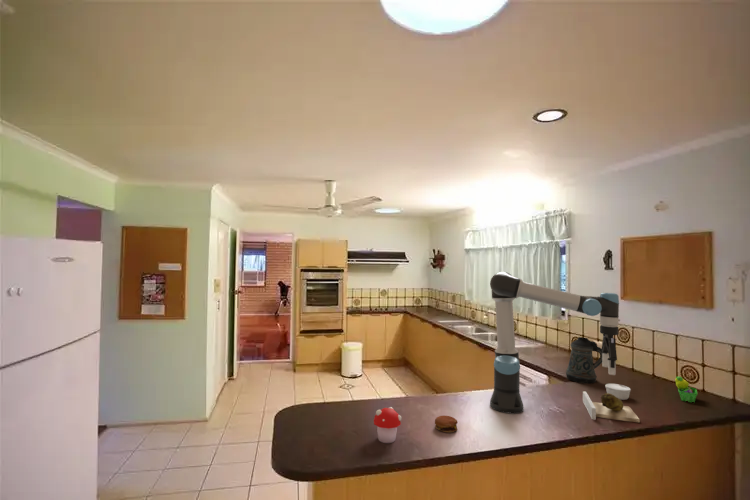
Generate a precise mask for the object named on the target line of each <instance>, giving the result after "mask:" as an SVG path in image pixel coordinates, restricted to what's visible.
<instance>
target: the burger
mask: <svg viewBox="0 0 750 500" xmlns="http://www.w3.org/2000/svg"><path fill="white" fill-rule="evenodd" d="M458 422H459V421H458V419H456V418H455V417H453V416H451V415H438V416H437V417H435V420H434V425H435V426H434V428H435V429H436V430H438V431H440V432H443V433H454V432H457V431H458V426H457V424H458Z"/></svg>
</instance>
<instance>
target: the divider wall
mask: <svg viewBox="0 0 750 500" xmlns="http://www.w3.org/2000/svg"><path fill="white" fill-rule="evenodd" d="M592 402H593V401H592V399H591V398H590V396H589V394H588V393H587V391H582V403H583V405H584V406H585V408H586V410H587V412H588V414H589V416H590V418H591V420H593V421H594V420H595V421H596V419H597V417H596V408H595V406H594V405H593V403H592Z"/></svg>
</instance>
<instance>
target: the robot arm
mask: <svg viewBox="0 0 750 500" xmlns="http://www.w3.org/2000/svg"><path fill="white" fill-rule="evenodd" d="M489 284H490V285H489V286H490V289H491V299H492V300H493V301H494V302H495V320H496V321H495V322H496V325H495V326H496V340H497V347H496V349H494V362H493V368H494V369H493V391H492V394H491V397H490V400H489V401H490V402H489V406H490V408H491V409H493V410H494V411H497V412H500V413H506V414H520V413H522V412H523V411H524V403H523V402H524V401H523V399H522V396H521V393H520V389H521V387H520V386H521V385H520V384H521V383H520V379H521V378H520V373H521V372H520V370H521V364H520V363H521V362H520V356H519V355H520V354H519V350H518V348H516V340H515V339H516V337H515V324H514V323H515V322H514V306H513V305H514V300H515V299H518V298H522V299H523V298H524V299H526V300H531V301H535V302H539V303H543V304H546V305H550V306H555V307H558V308H561V309H566V310H571V311H574V312H577V313H581V314H585V315H587V316H591V317H594V316H598V315H599V317H600V318H599V324H600V326H599V332H600V334H602V341H601V342H602V344H601V350H602V363H601V364H602V366H601V367H602V368H608V369H607V370H608V371H607V372H608V375H610V376H616V372H617V371H616V370H617V368H616V367H617V365H616V364H617V363H616V362H617V361H618V355H617V344H616V337H615V338H614V336H618V335H619V333H620V332H619V327H618V326H619V322H620V321H621V319H620V318H619V312H620V310H619V308H620V307H619V306H620V299H619V295H618V294H617V293H616V292H601V293H600V295H599V296H592V295H579V294H576V293H572V292H567V291H564V290H559V289H555V288H550V287H546V286H542V285H538V284H535V283H530V282H526V281H523V280H522V278H518V277H515V276H513V275H512V274H510V273H509V272H506V271H500V272H496V273H494V275H492V276H491V278H490V282H489Z"/></svg>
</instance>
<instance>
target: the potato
mask: <svg viewBox="0 0 750 500" xmlns="http://www.w3.org/2000/svg"><path fill="white" fill-rule="evenodd" d="M600 403H602V405H603V406H605V407H607V408H608V409H611V410H614V411H620V410H622V409H623V406H624V403H623V401H622V400H620V399H619V398H617V397H615V396H614V395H612V394H610V393H607V392H605V393H603V394H601V395H600Z"/></svg>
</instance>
